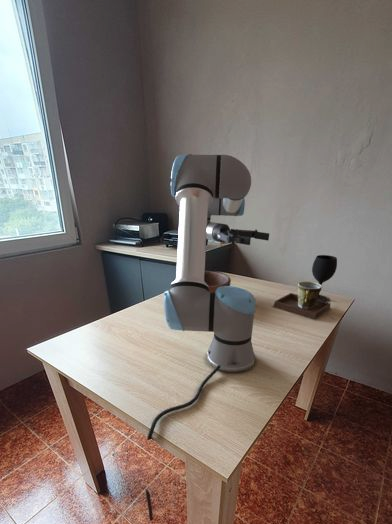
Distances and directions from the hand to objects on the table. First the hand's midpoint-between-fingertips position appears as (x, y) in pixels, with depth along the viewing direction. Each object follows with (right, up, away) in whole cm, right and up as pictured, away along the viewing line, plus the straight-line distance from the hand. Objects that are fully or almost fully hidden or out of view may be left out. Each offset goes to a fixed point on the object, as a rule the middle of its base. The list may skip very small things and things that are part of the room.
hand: (259, 239), depth 115 cm
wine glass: (+34, -19, +28) cm, 48 cm away
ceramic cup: (+24, -25, +16) cm, 38 cm away
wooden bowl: (-22, -19, +25) cm, 38 cm away
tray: (+23, -25, +17) cm, 38 cm away
